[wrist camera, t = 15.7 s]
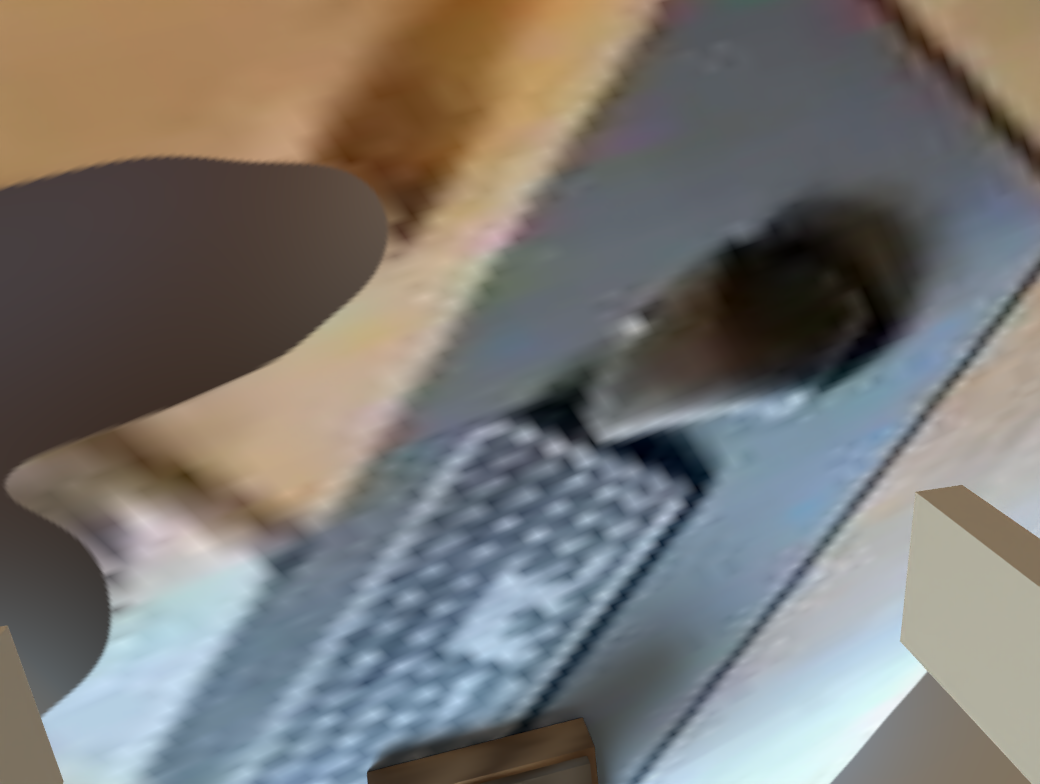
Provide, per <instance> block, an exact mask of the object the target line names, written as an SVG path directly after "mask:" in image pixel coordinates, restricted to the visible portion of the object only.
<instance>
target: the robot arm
mask: <svg viewBox="0 0 1040 784" xmlns="http://www.w3.org/2000/svg"><path fill="white" fill-rule="evenodd" d="M900 642H901V643H902V644H903V645H904V646H905V647H906V648H907V649H908V650H909V651H910V652H911V653H912V655H913V656H914V657H915V658H916V659H917V660H918V661H919V662H920V663H921V664H922V665H923V666H924V668H925V669H926V670H927V671H928V672H929V673H930V674H931V675H932V676H933V677H934V678H935V679H936V681H937V682H938V683H939V684H940V685H941V686H942V687H943V688H944V689H945V690H946V691H947V692H948V694H949V695H950V696H951V697H952V698H953V699H954V700H955V701H956V702H957V703H958V704H959V705H960V706H961V708H962V709H963V710H964V711H965V712H966V713H967V714H968V715H969V716H970V717H971V718H972V719H973V721H974V722H976V724H977V725H978V726H979V727H980V728H981V729H982V730H983V731H984V732H985V734H986V735H987V736H988V737H989V738H990V739H991V740H992V741H993V742H994V743H995V744H996V745H997V747H998V748H999V749H1000V750H1001V751H1002V752H1003V753H1004V754H1005V755H1006V756H1007V757H1008V758H1009V760H1010V761H1011V762H1012V763H1013V764H1014V765H1015V766H1016V767H1017V768H1018V769H1019V770H1020V772H1021V773H1022V774H1023V775H1024V776H1025V777H1026V778H1027V779H1028V780H1029V781H1030V782H1031V783H1032V784H1040V539H1039V538H1038V537H1036V536H1035V535H1033V534H1032V533H1031V532H1029V531H1028V530H1026V529H1025V528H1023V527H1022V526H1021V525H1019V524H1018V523H1016V522H1015V521H1013V520H1012V519H1010V518H1009V517H1008V516H1006V515H1005V514H1003V513H1002V512H1000V511H999V510H997V509H996V508H995V507H993V506H992V505H990V504H989V503H987V502H986V501H984V500H983V499H982V498H980V497H979V496H977V495H976V494H974V493H973V492H971V491H970V490H969V489H967V488H966V487H964V486H963V485H959V486H952V487H946V488H939V489H932V490H925V491H919V492H915V502H914V512H913V521H912V531H911V541H910V551H909V560H908V570H907V580H906V590H905V599H904V609H903V619H902V628H901V638H900ZM63 782H64V781H63V779H62V776H61V773H60V770H59V767H58V765H57V762H56V759H55V756H54V754H53V751H52V748H51V745H50V742H49V740H48V737H47V734H46V731H45V728H44V726H43V723H42V720H41V717H40V714H39V712H38V709H37V706H36V703H35V700H34V698H33V695H32V692H31V689H30V687H29V684H28V681H27V678H26V675H25V672H24V670H23V667H22V665H21V661H20V658H19V656H18V653H17V650H16V647H15V645H14V642H13V639H12V636H11V633H10V631H9V628H8V626H2V627H0V784H63Z"/></svg>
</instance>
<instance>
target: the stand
mask: <svg viewBox="0 0 1040 784" xmlns="http://www.w3.org/2000/svg"><path fill="white" fill-rule="evenodd" d="M367 780H368V784H598V777H597V766H596V756H595V746H594V744H593V741H592V739H591V737H590V734H589V732H588V729H587V727H586V724H585V722H584V720H583V718H579V719H575V720H571V721H567V722H563V723H559V724H555V725H551V726H547V727H543V728H539V729H535V730H532V731H528V732H524V733H520V734H516V735H512V736H508V737H504V738H500V739H496V740H492V741H488V742H484V743H480V744H477V745H473V746H469V747H465V748H461V749H457V750H453V751H449V752H445V753H441V754H437V755H433V756H429V757H426V758H422V759H418V760H414V761H410V762H406V763H402V764H398V765H394V766H390V767H386V768H382V769H378V770H374V771H371V772H367Z"/></svg>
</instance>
